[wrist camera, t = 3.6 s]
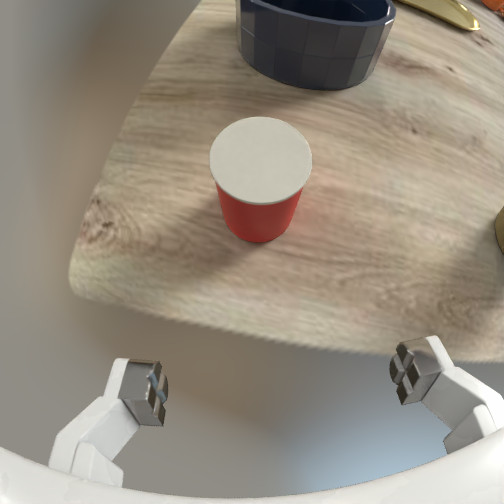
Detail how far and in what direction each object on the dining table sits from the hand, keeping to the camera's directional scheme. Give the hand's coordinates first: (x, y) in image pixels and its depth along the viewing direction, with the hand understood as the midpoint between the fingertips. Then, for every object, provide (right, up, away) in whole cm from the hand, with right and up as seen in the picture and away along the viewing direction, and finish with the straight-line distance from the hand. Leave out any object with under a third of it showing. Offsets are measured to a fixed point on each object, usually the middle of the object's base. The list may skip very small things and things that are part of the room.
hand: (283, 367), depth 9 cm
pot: (+6, +29, +20) cm, 35 cm away
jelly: (-1, +7, +15) cm, 17 cm away
